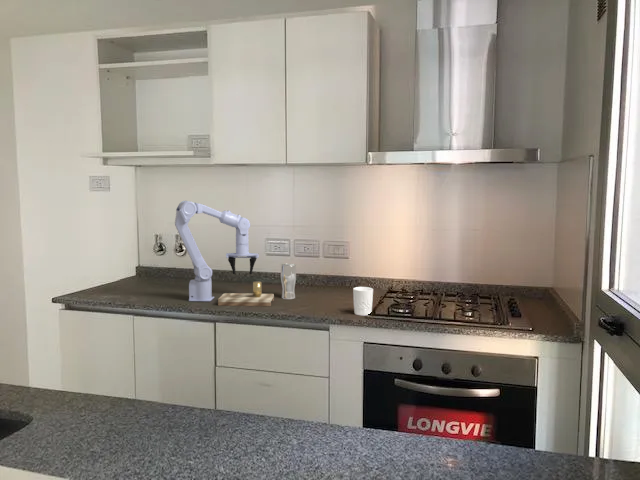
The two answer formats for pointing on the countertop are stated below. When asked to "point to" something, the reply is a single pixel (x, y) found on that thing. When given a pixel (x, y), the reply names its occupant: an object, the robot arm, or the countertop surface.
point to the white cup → (362, 300)
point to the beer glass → (288, 280)
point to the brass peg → (257, 289)
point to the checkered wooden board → (245, 299)
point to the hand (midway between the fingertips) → (242, 273)
